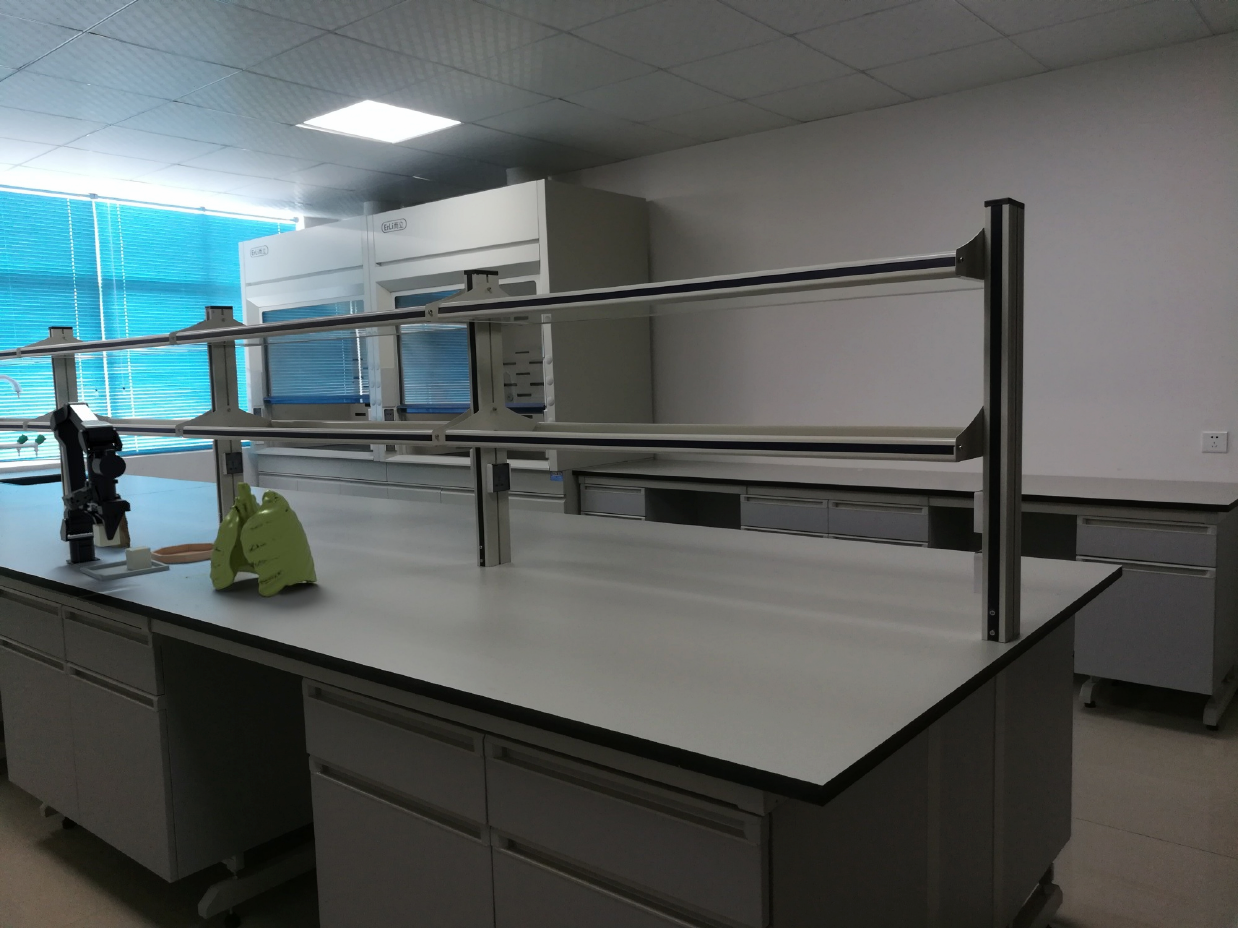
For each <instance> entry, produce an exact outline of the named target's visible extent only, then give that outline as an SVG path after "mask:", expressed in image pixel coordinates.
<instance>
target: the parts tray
mask: <svg viewBox="0 0 1238 928" xmlns="http://www.w3.org/2000/svg"><path fill="white" fill-rule="evenodd" d="M151 562H152V568H146V569H140V570H134V571H133V570H130V569H127V563H126V559H125V560H119V561H112V562H111V561H110V562H106V563H100V564H95V565H94V564H93V565H87V566H80V567H79V572H81V573H82V574H85V575H88V576H89V577H92V578H95V579H96V580H99V581H101V582H105V581H110V580H116V579H122V578H128V577H132V576H141V575H147V574H152V573H158V572H163V571H168V570H171V569H170V568H171V567H170V565H169V564H168V563H161V562H158V561H155V560H152V559H151Z"/></svg>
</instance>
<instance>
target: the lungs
mask: <svg viewBox="0 0 1238 928" xmlns="http://www.w3.org/2000/svg"><path fill="white" fill-rule="evenodd" d="M236 488H237V492H238V496H236V497H234V498H233V499H234V501H235V502H234V505H233V506H230V507H229V509H230V511H229V512H228V514H227V515H226V516H225V517H224V518H223V520H222V521H221V523H220V524H219V527H218V530H217V535H216V539H215V540H214V541H213V543H214V546H213V550H212V554H211V556H210V573H209V578H210V579H211V584H212V586H213V588H214V589H215V590H216V591H217V590H223V589H226V588H228V587H229V586H231V585H233V583H234V581H235V579H236V577H237V575H238V573H249V574H253V575H257V576H258V580H257V581H258V593H259V594H260V595H261V596H264V597H266V598H269V597H272V596H274V595H276V594H277V593H279V592H280V591H281V590H283V588H284V587H285V586H293V585H296V584H297V583H303V582H306V584H307V583H310V584H311V583H317V582H318V578H317V572H316V570H315V561H314V557H313V554H312V550H311V546H310V544H309V541H308V538H307V536H308V535H307V534H306V531H305V529H304V527H303V525H302V522H301V521H300V519H299V517H298V515H297V513H296V511H295V510H293V508H291V505H290V504H289V502H288V500H287V499H286V498H285V496H283V495H282V494H280V493H279V492H276V491H274V490H271V489H267V490H266V491H264V492H263V494H262V497H261V501H262V503H261V504H260V503H259V502H257V501H258V500H257V496H256V495H255V494H254V493H252V488H251V486H250V484H249V483H248V482H243V481H241V482H237V483H236Z"/></svg>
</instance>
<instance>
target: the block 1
mask: <svg viewBox="0 0 1238 928" xmlns="http://www.w3.org/2000/svg"><path fill="white" fill-rule="evenodd" d="M93 532H94V546H96V547H98V548H103V547H112V546H111V545H117V544H120V534H119V526H118V528H117V531H116V533H115V536H114V538H113V540H107V536H106V533H105V529H104V525H103V524H95V525H93Z"/></svg>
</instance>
